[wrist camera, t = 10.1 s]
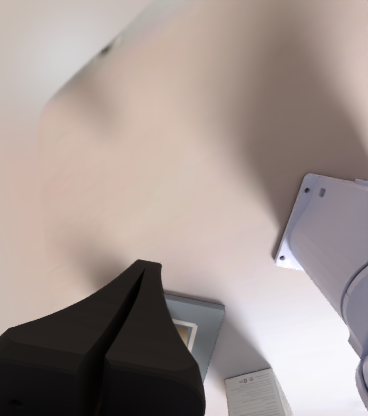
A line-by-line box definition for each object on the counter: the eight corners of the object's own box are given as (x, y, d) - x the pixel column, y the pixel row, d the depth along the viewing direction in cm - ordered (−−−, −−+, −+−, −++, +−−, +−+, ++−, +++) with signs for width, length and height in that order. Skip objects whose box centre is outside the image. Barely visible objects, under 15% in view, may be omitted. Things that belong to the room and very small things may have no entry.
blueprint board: (111, 283, 25) (108, 288, 24) (224, 305, 25) (225, 311, 24) (104, 364, 29) (101, 371, 28) (201, 383, 29) (201, 391, 28)
